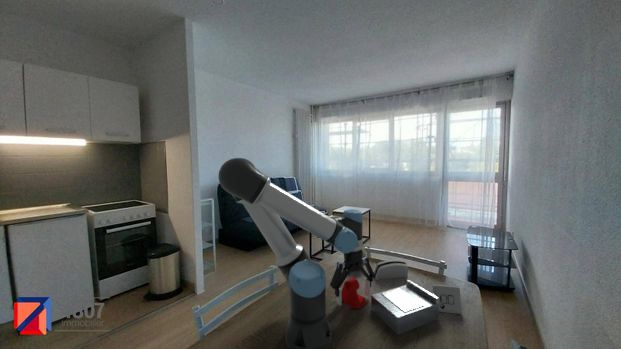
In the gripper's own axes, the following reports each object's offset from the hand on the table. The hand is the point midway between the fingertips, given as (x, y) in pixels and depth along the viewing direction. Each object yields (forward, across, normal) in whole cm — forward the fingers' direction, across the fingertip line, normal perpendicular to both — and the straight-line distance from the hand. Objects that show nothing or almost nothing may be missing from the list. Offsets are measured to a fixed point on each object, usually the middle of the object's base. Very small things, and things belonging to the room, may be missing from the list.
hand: (353, 299), depth 94 cm
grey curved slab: (+2, +28, +10) cm, 30 cm away
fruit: (+2, +19, +25) cm, 31 cm away
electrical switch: (+2, +30, -18) cm, 35 cm away
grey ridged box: (+1, +13, -14) cm, 19 cm away
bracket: (+2, 0, 0) cm, 2 cm away
